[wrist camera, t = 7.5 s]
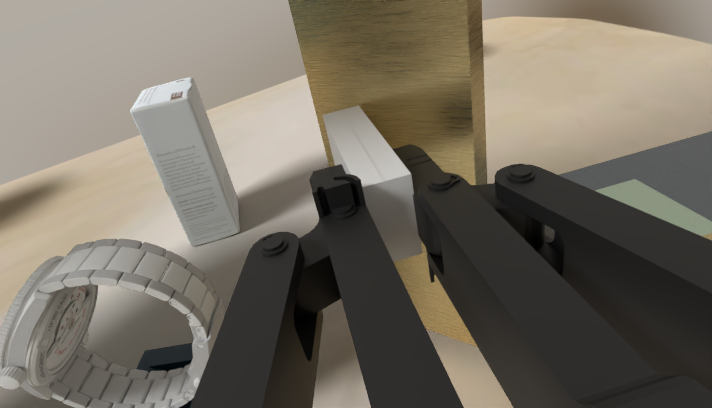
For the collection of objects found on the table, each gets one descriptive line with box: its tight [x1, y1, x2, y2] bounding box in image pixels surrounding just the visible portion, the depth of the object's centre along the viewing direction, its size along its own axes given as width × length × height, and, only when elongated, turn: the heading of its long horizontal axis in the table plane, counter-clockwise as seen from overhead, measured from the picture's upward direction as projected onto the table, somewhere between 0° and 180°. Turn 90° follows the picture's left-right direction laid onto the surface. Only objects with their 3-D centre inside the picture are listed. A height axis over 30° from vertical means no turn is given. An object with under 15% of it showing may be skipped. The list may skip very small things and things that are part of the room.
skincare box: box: [130, 77, 240, 246], centre depth 35 cm, size 6×4×12 cm
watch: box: [0, 239, 224, 408], centre depth 18 cm, size 6×8×11 cm
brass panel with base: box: [288, 0, 487, 347], centre depth 14 cm, size 9×17×18 cm, turn 71°
